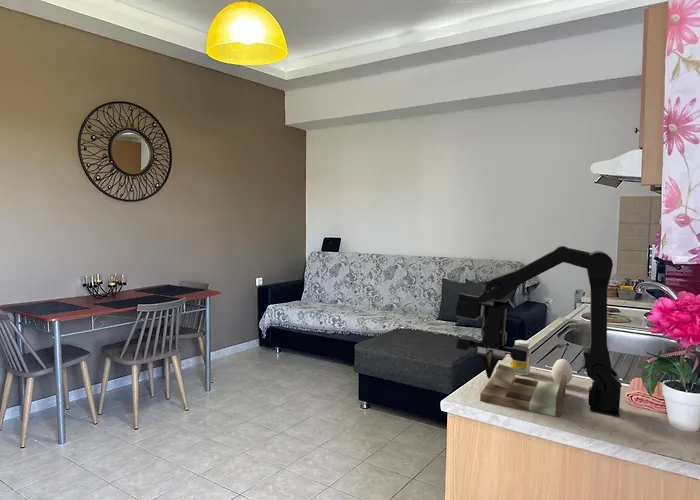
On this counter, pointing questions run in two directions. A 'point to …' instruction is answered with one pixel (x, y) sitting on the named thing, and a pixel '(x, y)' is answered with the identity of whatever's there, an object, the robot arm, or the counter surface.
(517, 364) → the supplement bottle
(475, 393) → the counter surface
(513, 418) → the counter surface
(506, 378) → the birch block
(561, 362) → the egg
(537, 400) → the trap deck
